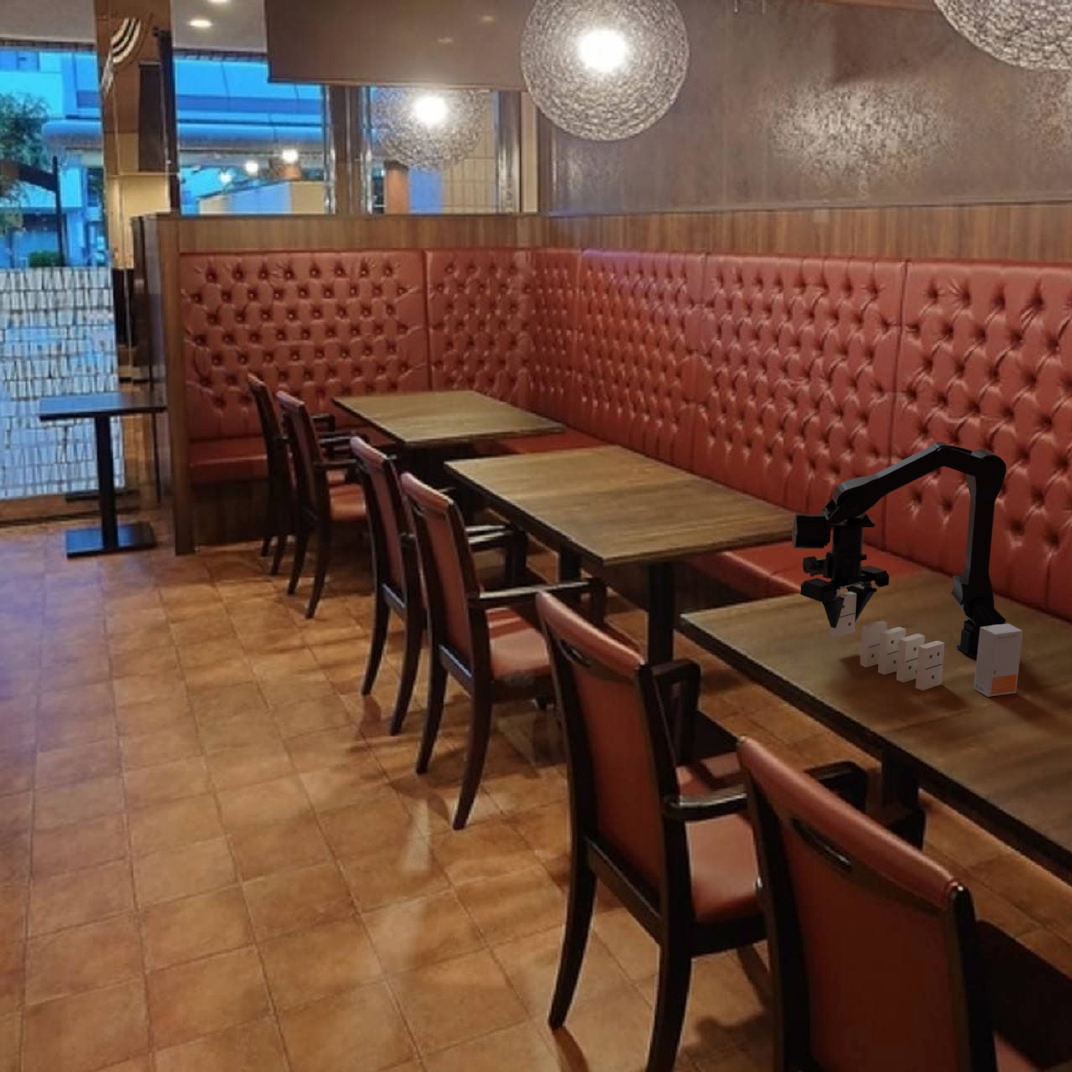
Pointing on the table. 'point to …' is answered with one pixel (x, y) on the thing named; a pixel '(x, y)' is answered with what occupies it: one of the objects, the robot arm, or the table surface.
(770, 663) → the table surface
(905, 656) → the domino
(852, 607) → the domino
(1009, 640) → the skincare box
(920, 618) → the table surface
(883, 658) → the domino
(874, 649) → the domino
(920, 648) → the domino
